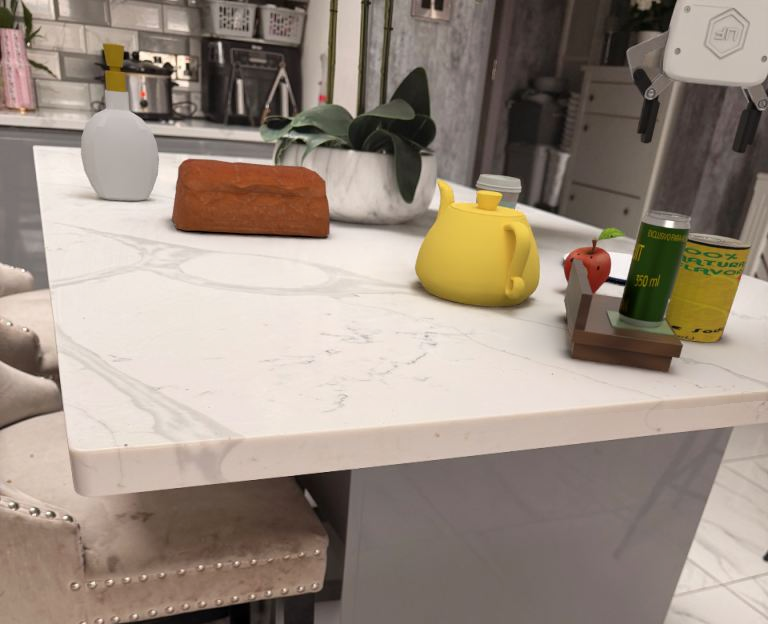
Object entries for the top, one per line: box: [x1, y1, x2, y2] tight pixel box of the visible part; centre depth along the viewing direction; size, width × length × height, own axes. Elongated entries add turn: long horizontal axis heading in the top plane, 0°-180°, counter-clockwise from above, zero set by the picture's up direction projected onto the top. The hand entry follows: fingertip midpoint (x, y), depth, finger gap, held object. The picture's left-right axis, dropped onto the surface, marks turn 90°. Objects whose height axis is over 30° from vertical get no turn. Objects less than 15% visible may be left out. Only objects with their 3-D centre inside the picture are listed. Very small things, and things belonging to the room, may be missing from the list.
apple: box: [563, 227, 626, 294], centre depth 114 cm, size 8×7×10 cm
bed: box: [563, 259, 684, 373], centre depth 93 cm, size 12×20×8 cm, turn 170°
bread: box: [171, 158, 331, 238], centre depth 133 cm, size 16×27×11 cm, turn 109°
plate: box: [562, 251, 633, 284], centre depth 135 cm, size 25×25×1 cm
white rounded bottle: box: [80, 42, 160, 202], centre depth 143 cm, size 14×9×26 cm, turn 118°
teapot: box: [414, 179, 541, 307], centre depth 108 cm, size 25×18×14 cm
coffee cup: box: [475, 173, 522, 210], centre depth 143 cm, size 8×8×12 cm
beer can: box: [618, 210, 692, 328], centre depth 87 cm, size 5×5×12 cm
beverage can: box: [666, 231, 752, 343], centre depth 100 cm, size 9×9×12 cm
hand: (691, 147), depth 81 cm, fingers open, 9 cm apart
